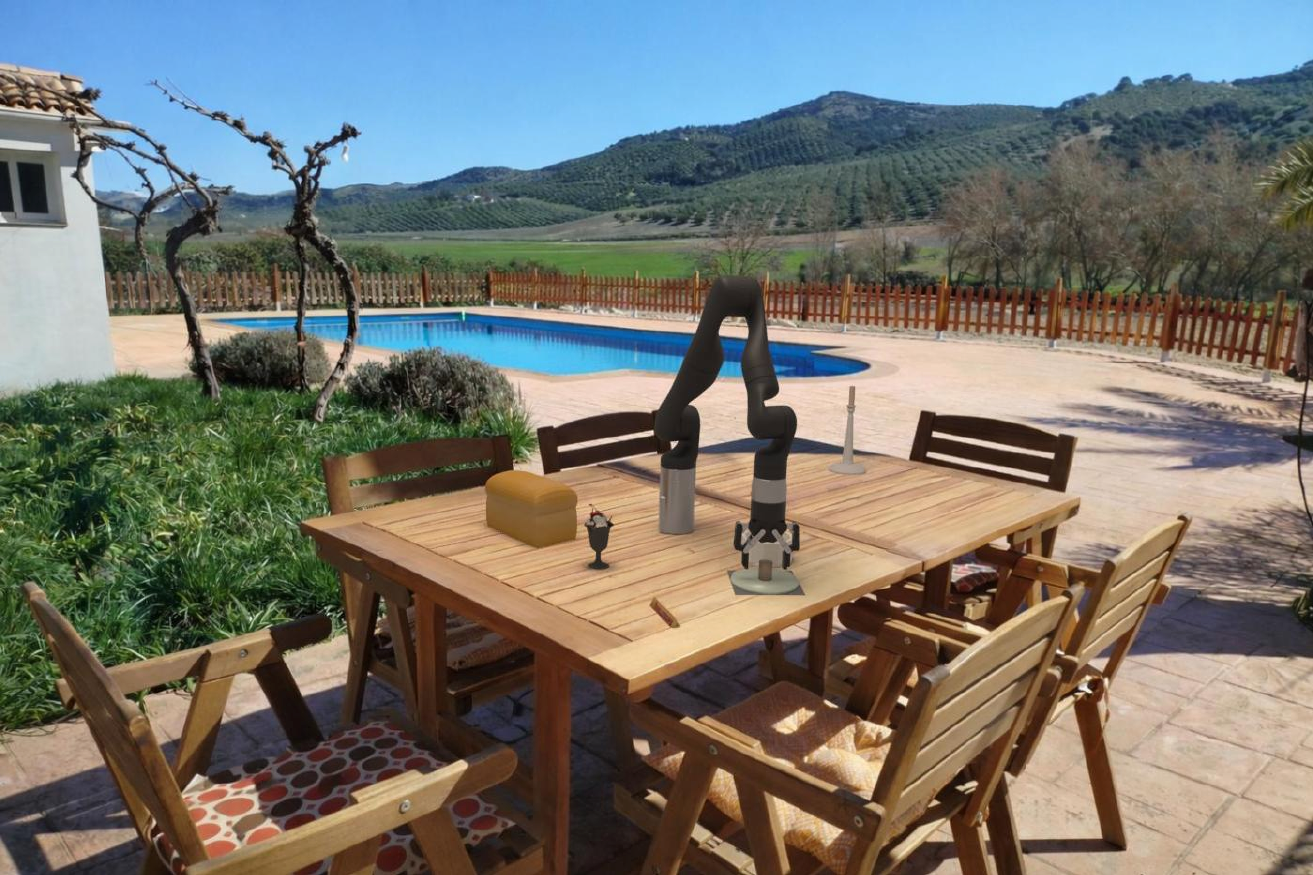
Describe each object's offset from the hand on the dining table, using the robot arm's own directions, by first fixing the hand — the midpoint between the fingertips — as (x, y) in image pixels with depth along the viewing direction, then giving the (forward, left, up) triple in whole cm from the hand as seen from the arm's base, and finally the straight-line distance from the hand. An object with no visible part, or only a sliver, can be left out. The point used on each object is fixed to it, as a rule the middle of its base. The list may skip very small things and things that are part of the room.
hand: (765, 568), depth 192 cm
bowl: (+3, +16, -4) cm, 17 cm away
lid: (0, 0, -3) cm, 3 cm away
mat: (0, 0, -4) cm, 4 cm away
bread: (-55, +37, -4) cm, 66 cm away
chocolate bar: (-23, -18, -4) cm, 30 cm away
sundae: (-37, +11, -4) cm, 39 cm away
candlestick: (+47, +111, -4) cm, 121 cm away
